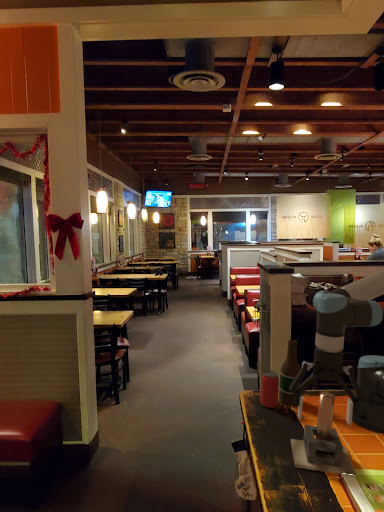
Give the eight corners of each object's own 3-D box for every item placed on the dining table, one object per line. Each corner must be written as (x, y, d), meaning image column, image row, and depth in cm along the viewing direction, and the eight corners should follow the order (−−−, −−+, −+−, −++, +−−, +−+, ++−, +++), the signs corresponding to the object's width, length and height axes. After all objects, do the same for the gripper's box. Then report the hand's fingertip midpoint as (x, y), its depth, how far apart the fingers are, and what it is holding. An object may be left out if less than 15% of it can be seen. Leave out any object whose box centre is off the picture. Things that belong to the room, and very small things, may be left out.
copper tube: (327, 451, 103) (333, 393, 102) (330, 460, 99) (336, 399, 98) (313, 449, 104) (318, 390, 103) (315, 457, 100) (321, 397, 99)
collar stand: (344, 449, 106) (346, 427, 106) (356, 476, 94) (358, 452, 94) (290, 441, 109) (292, 420, 108) (295, 467, 97) (296, 443, 97)
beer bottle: (300, 406, 132) (304, 344, 130) (279, 404, 133) (283, 342, 131) (297, 397, 139) (301, 338, 138) (278, 394, 141) (281, 336, 139)
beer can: (277, 409, 129) (279, 378, 128) (259, 407, 130) (261, 376, 129) (277, 401, 135) (278, 371, 134) (259, 399, 137) (261, 369, 136)
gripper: (371, 348, 101) (365, 418, 102) (282, 339, 105) (278, 407, 107) (380, 357, 93) (374, 432, 95) (285, 348, 98) (280, 420, 99)
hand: (323, 419), depth 101 cm, fingers open, 13 cm apart
